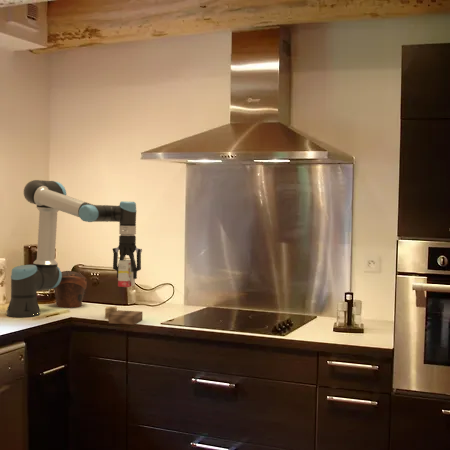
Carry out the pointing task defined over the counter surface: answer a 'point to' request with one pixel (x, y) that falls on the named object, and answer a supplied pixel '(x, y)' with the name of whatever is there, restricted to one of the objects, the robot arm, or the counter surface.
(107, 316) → the oak cube
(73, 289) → the brown plant pot
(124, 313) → the pedestal
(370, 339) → the counter surface
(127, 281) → the ink box
